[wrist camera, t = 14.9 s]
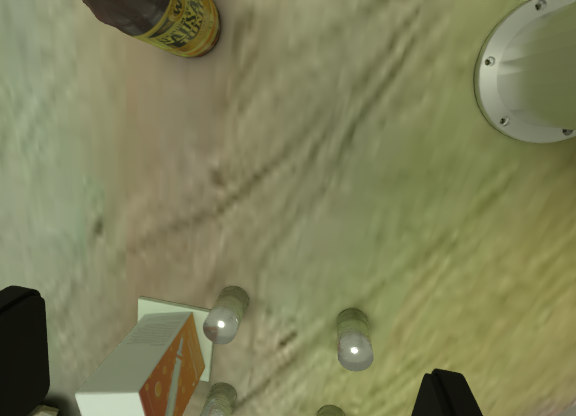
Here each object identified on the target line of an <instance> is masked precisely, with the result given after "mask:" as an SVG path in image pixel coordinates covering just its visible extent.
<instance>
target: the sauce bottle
mask: <svg viewBox="0 0 576 416" xmlns="http://www.w3.org/2000/svg"><path fill="white" fill-rule="evenodd" d="M82 1H83V3H85V4H86V5H87V6H88V7H89V8H90V10H91V11H92V12H93V14H94V15H95V17H96V18H97V19H98V20H100V21H101V22H103V23H105V24H108V25H111V26H113V27H116V28H117V29H119V30H120V31H121V32H123V33H125V34H127V35H129V36H132V37H134V38H137V39H139V40H141V41H144V42H146V43H149V44H151V45H154V46H156V47H158V48H161V49H163V50H165V51H168V52H170V53H172V54H175V55H178V56H182V57H198V56H202V55H204V54H205V53H207V52H208V51H209V50H210V49H211V48H212V47H213V46H214V45H215V43H216V40H217V39H218V38H219V32H220V20H219V12H218V10H217V8H216V6H215V4H214V2H213V0H82Z"/></svg>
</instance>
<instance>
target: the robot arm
mask: <svg viewBox="0 0 576 416" xmlns="http://www.w3.org/2000/svg"><path fill="white" fill-rule="evenodd" d="M535 5H537V6H538V10H536V8H535ZM486 59H487V60H488V61H489V63H488V65H485V60H486ZM474 83H475V94H476V98H477V102H478V105H479V107H480V109H481V111H482V113H483V115H484V117H485V118H486V119H487V120H488V121H489V123H490V124H491V125H492V126H493V127H494V128H496V129H497V130H498V131H500V132H501V133H502V134H504V135H507V136H509V137H511V138H513V139H516V140H520V141H524V142H531V143H553V142H558V141H563V140H567V139H569V138H572V137H574V136H576V0H529V1H527V2H525V3H523V4H522V5H520V6H519V7H517V8H516V9H514V10H513V11H511V12H510V13H509V14H508V15H507V16H506V17H505V18H504V19H502V20H501V21H500V22H499V23H498V24H497V26H496V27H495V28H494V30H493V31H492V32H491V34H490V35H489V36H488V38H487V40H486V41H485V43H484V45H483V47H482V49H481V51H480V54H479V57H478V61H477V64H476V69H475V77H474ZM501 118H503V123H501V124H500V120H501ZM563 129H564V131H563ZM49 387H50V376H49V360H48V343H47V327H46V311H45V301H44V299H43V298H42V297H41V295H40V293H39V291H37V290H35V289H30V288H25V287H20V286H9V287H6V288H5V289H3V290H1V291H0V416H28V415H29V414H30V413H31V412H32V411H33V410H34V409H35V408H36V407H37V406H38V405H39V404H40V403H41V402H42V400H43V399H44V398H45V396H46V395H47V393H48V390H49ZM411 416H483V415H482V413H481V411H480V408H479V406H478V404H477V402H476V400H475V398H474V396H473V394H472V392H471V390H470V388H469V386H468V384H467V381H466V379H465V378H464V376H463V375H462V374H461V373H457V372H452V371H447V370H442V369H434V370H433V371H432V374H428V373H426V374H425V375H424V377H423V379H422V383H421V386H420V389H419V392H418V396H417V399H416V402H415V405H414V409H413V412H412V415H411Z"/></svg>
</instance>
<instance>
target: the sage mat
mask: <svg viewBox="0 0 576 416" xmlns="http://www.w3.org/2000/svg"><path fill="white" fill-rule="evenodd" d="M210 311H211V310H209V309H204V308H199V307H194V306H189V305H183V304H178V303H173V302H168V301H163V300H158V299H153V298H147V297H142V296H141V297H140V298H139V299H138V322H139V321H140V320H141V319H142V318H143V316H144V315H147V314H161V313H178V312H192V313H193V317H194V322H195V327H196V332H197V336H198V341H199V345H200V349H201V354H202V358H203V361H204V365H205V369H204V371H203V373H202V375H201V377H200V379H199V380H202V381H207V382H208V381H209V379H210V372H211V362H212V351H213V342H211V341H210V340H209V339H208V338H207V337H206V336H205V334H204V332H203V323H204V321H205V319H206V318H207V316H208V314H209V312H210Z"/></svg>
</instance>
